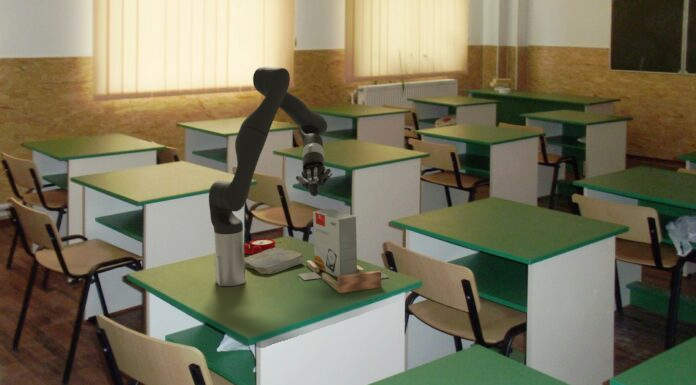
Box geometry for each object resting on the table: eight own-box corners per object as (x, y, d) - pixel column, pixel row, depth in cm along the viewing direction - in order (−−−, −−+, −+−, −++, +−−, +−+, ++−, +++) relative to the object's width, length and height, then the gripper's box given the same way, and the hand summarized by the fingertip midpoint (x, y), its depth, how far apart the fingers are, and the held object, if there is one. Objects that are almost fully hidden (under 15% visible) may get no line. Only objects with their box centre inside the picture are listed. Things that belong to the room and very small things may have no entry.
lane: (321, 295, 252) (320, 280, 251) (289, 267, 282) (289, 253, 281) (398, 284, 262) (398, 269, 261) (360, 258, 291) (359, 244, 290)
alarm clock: (284, 240, 304) (256, 240, 293) (282, 257, 305) (254, 258, 293) (264, 236, 311) (235, 236, 299) (262, 253, 311) (233, 253, 299)
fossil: (232, 270, 286) (264, 276, 274) (231, 257, 285) (263, 263, 273) (275, 259, 300) (308, 265, 288) (274, 247, 299) (307, 252, 287)
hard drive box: (313, 267, 282) (311, 211, 278) (332, 263, 286) (330, 207, 282) (339, 278, 269) (337, 219, 265) (358, 274, 274) (357, 215, 270)
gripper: (291, 155, 286) (292, 191, 274) (328, 146, 284) (330, 182, 272) (298, 170, 292) (298, 206, 280) (334, 161, 290) (336, 197, 278)
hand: (314, 194), depth 276 cm, fingers closed
